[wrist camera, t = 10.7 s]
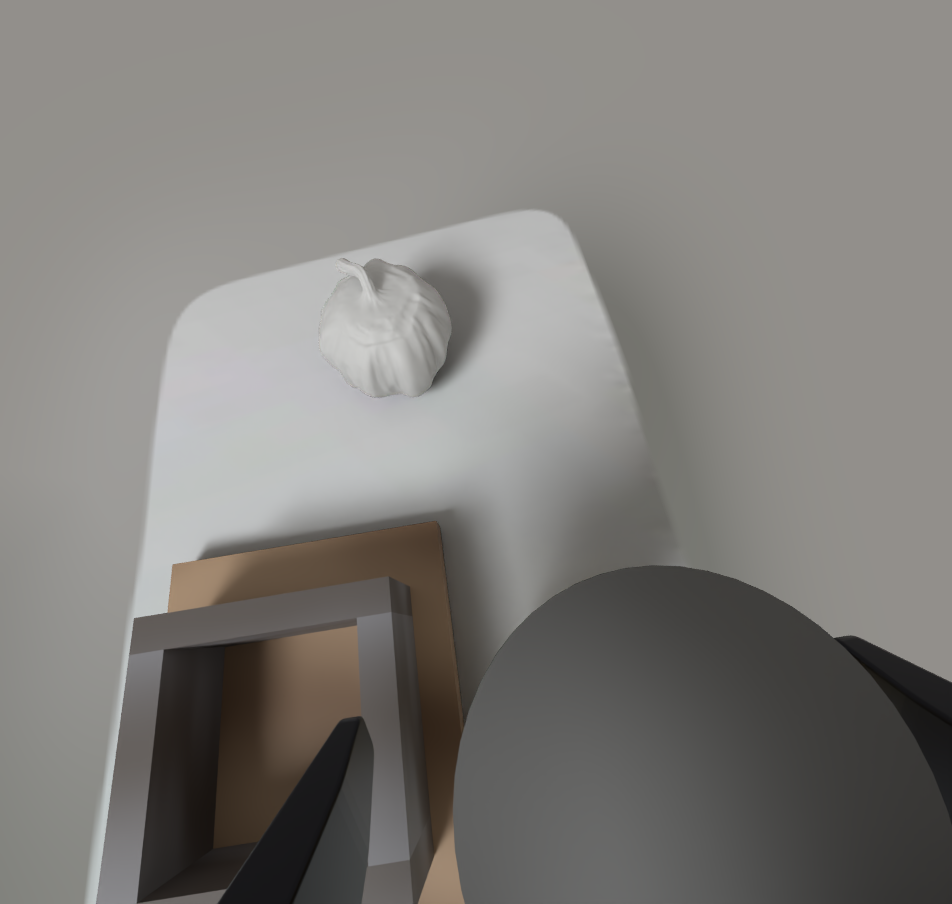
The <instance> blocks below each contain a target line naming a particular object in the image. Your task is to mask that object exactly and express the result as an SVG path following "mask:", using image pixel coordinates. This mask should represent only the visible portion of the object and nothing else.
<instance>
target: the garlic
mask: <svg viewBox="0 0 952 904" xmlns="http://www.w3.org/2000/svg"><path fill="white" fill-rule="evenodd" d="M336 268H337V270H338V271H339V272H341V273H345V274H347V275H348V276H347V277H346V278H343V279H341V280H340V281H339V282H338V283H337V285H336V288H335V289H334V291H333V293H332V294H331V296H330V297H329V298H328V300H327V301H326V303H325V305H324V307H323V309H322V311H321V321H320V325H319V349H320V352H321V354H322V356H323V357H324V358H325V360H326V361H327V362H328V363H329V364H330V365H331V366H332V367H334V368H335V369H337V370H338V371H339V372H340V373H341V375H342V377H343V378H344V380H345V381H346V382H347V383H348V384H349V385H350V386H352V387H354V388H358V389H359V390H360V391H362V392H363V393H364V394H366V395H368V396H370V397H375V398H381V397H386V396H389V395H395V394H404V395H407V396H409V397H418V396H420V395H422V394H423V393H424V392H426V391H427V390H428V389H429V388H430V387H431V385H432V381H433V378H434V376H435V375H436V374H437V372H438V370H439V369H440V368H441V367H442V366H443V364H444V362H445V360H446V356H447V346H448V341H449V339H450V336H451V332H452V325H451V320H450V316H449V314H448V310H447V307H446V304H445V302H444V301H443V299H442V298H441V296H440V294H439V293H438V291H437V290H436V289H435V288H434V287H432V286H431V285H429V284H428V283H427V282H425V281H424V280H423V279H421V278H420V277H419V276H418V275H417V274H416V273H415V272H414V271H412V270H411V269H410V268H408V267H405V266H402V265H393V264H389V263H386V262H384V261H383V260H380V259H372V260H370V261H369V262H368V263H367V264H366V265H365V266H364V267H362V266H360V265H358V264H356V263H351V262H350V261H348V260H347V259H343V258H340V259H339V260H337V262H336Z"/></svg>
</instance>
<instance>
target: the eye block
mask: <svg viewBox="0 0 952 904" xmlns="http://www.w3.org/2000/svg"><path fill="white" fill-rule="evenodd" d="M355 716H361V717H362V718H363V719H364V721H365V723H366V726H367V729H368V732H369V734H370V737H371V740H372V743H373V747H374V769H373V788H372V806H371V825H370V842H369V854H368V863H367V870H366V877H365V884H364V891H363V898H362V904H465V902H464V899H463V895H462V891H461V885H460V879H459V873H458V867H457V860H456V854H455V843H454V824H453V799H454V780H455V771H456V765H457V758H458V752H459V746H460V740H461V737H462V733H463V730H464V720H463V711H462V703H461V695H460V687H459V679H458V670H457V662H456V654H455V646H454V638H453V629H452V621H451V613H450V605H449V597H448V588H447V580H446V572H445V564H444V556H443V547H442V539H441V531H440V526H439V524H438V523H437V521H432V522H426V523H420V524H414V525H408V526H402V527H396V528H390V529H384V530H378V531H372V532H366V533H360V534H354V535H348V536H342V537H336V538H330V539H323V540H317V541H311V542H305V543H299V544H293V545H287V546H281V547H275V548H269V549H263V550H257V551H251V552H245V553H239V554H233V555H227V556H221V557H215V558H209V559H203V560H197V561H191V562H185V563H179V564H173V566H172V575H171V585H170V594H169V603H168V613H163V614H157V615H151V616H145V617H139V618H134V623H133V631H132V638H131V646H130V653H129V661H128V668H127V676H126V683H125V691H124V698H123V706H122V713H121V721H120V729H119V736H118V744H117V751H116V759H115V766H114V774H113V781H112V789H111V796H110V804H109V811H108V819H107V826H106V834H105V841H104V849H103V856H102V864H101V871H100V879H99V886H98V894H97V901H96V904H217V903H218V901H219V900H220V898H221V897H222V895H223V894H224V892H225V891H226V889H227V888H228V886H229V885H230V883H231V882H232V880H233V879H234V877H235V876H236V874H237V873H238V871H239V870H240V868H241V867H242V865H243V864H244V862H245V861H246V859H247V858H248V856H249V855H250V853H251V852H252V850H253V849H254V847H255V846H256V844H257V843H258V841H259V840H260V838H261V837H262V835H263V834H264V832H265V831H266V829H267V828H268V826H269V825H270V823H271V822H272V820H273V819H274V817H275V816H276V815H277V813H278V812H279V810H280V809H281V807H282V806H283V804H284V803H285V801H286V800H287V798H288V797H289V795H290V794H291V792H292V791H293V789H294V788H295V786H296V785H297V783H298V782H299V780H300V779H301V777H302V776H303V774H304V773H305V771H306V770H307V768H308V767H309V765H310V764H311V762H312V761H313V759H314V758H315V756H316V755H317V753H318V752H319V750H320V749H321V747H322V746H323V744H324V743H325V741H326V740H327V738H328V737H329V735H330V734H331V732H332V731H333V729H334V728H335V726H336V725H337V723H338V722H339V721H340V720H342V719H344V718H349V717H355Z"/></svg>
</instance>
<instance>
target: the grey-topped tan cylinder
mask: <svg viewBox="0 0 952 904" xmlns="http://www.w3.org/2000/svg"><path fill="white" fill-rule="evenodd" d="M453 824H454V843H455V854H456V860H457V867H458V873H459V879H460V885H461V891H462V895H463V899H464V902H465V904H952V824H951V821H950V817H949V813H948V811H947V808H946V805H945V803H944V800H943V798H942V795H941V793H940V790H939V788H938V785H937V782H936V780H935V777H934V775H933V773H932V771H931V769H930V767H929V765H928V763H927V761H926V759H925V757H924V755H923V753H922V751H921V749H920V747H919V745H918V743H917V741H916V739H915V737H914V736H913V734H912V733H911V731H910V729H909V728H908V726H907V725H906V723H905V722H904V720H903V718H902V717H901V715H900V714H899V712H898V711H897V709H896V708H895V706H894V704H893V703H892V702H891V701H890V699H889V698H888V697H887V695H886V694H885V693H884V692H883V690H882V689H881V688H880V686H879V685H878V684H877V683H876V681H875V680H874V679H873V678H872V676H871V675H870V674H869V673H868V672H867V671H866V670H865V669H864V668H863V666H862V665H861V664H860V663H859V662H858V661H857V660H856V659H855V658H854V657H853V656H852V655H851V654H850V653H849V652H848V651H847V650H846V649H845V648H844V647H843V646H842V645H841V644H840V643H839V642H837V641H836V640H835V639H834V638H833V637H832V636H830V635H829V634H828V633H827V632H826V631H825V630H823V629H822V628H821V627H820V626H819V625H817V624H816V623H815V622H813V621H812V620H810V619H809V618H807V617H806V616H805V615H803V614H802V613H800V612H799V611H797V610H796V609H795V608H793V607H792V606H790V605H788V604H786V603H785V602H783V601H781V600H779V599H777V598H776V597H774V596H772V595H770V594H768V593H767V592H765V591H763V590H760V589H758V588H756V587H753V586H751V585H748V584H746V583H744V582H741V581H739V580H737V579H733V578H730V577H727V576H723V575H720V574H716V573H712V572H709V571H704V570H698V569H692V568H686V567H680V566H643V567H632V568H625V569H620V570H616V571H612V572H608V573H603V574H600V575H597V576H595V577H592V578H590V579H587V580H584V581H582V582H579V583H577V584H575V585H573V586H571V587H570V588H568V589H566V590H564V591H562V592H561V593H559V594H557V595H555V596H554V597H552V598H551V599H550V600H548V601H547V602H546V603H544V604H543V605H542V606H540V607H539V608H538V609H537V610H535V611H534V612H533V613H532V614H531V615H529V616H528V617H527V618H526V619H525V620H524V621H523V623H522V624H521V625H520V626H519V627H518V628H517V629H516V630H515V631H514V632H513V633H512V634H511V635H510V637H509V638H508V639H507V641H506V642H505V643H504V645H503V646H502V647H501V649H500V650H499V651H498V653H497V654H496V656H495V657H494V659H493V661H492V663H491V664H490V666H489V668H488V670H487V671H486V673H485V675H484V677H483V678H482V680H481V682H480V685H479V687H478V690H477V692H476V694H475V697H474V699H473V702H472V704H471V706H470V709H469V712H468V716H467V719H466V723H465V726H464V730H463V733H462V737H461V740H460V746H459V752H458V758H457V765H456V771H455V780H454V799H453Z"/></svg>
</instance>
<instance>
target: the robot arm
mask: <svg viewBox="0 0 952 904" xmlns="http://www.w3.org/2000/svg"><path fill="white" fill-rule="evenodd" d="M834 639H835V640H836V641H837V642H839V643H840V644H841V645H842V646H843V647H844V648H845V649H846V650H847V651H848V652H849V653H850V654H851V655H852V656H853V657H854V658H855V659H856V660H857V661H858V662H859V663H860V664H861V665H862V666H863V668H864V669H865V670H866V671H867V672H868V673H869V674H870V675H871V676H872V678H873V679H874V680H875V681H876V683H877V684H878V685H879V686H880V688H881V689H882V690H883V692H884V693H885V694H886V695H887V697H888V698H889V699H890V701H891V702H892V703H893V704H894V706H895V708H896V709H897V711H898V712H899V714H900V715H901V717H902V718H903V720H904V722H905V723H906V725H907V726H908V728H909V729H910V731H911V733H912V734H913V736H914V737H915V739H916V741H917V743H918V745H919V747H920V749H921V751H922V753H923V755H924V757H925V759H926V761H927V763H928V765H929V767H930V769H931V771H932V773H933V775H934V777H935V780H936V782H937V785H938V788H939V790H940V793H941V795H942V798H943V800H944V803H945V805H946V808H947V811H948V813H949V817H950V821H951V824H952V682H950V681H948V680H946V679H943V678H942V677H939V676H937V675H935V674H933V673H931V672H929V671H927V670H925V669H923V668H921V667H919V666H917V665H914V664H913V663H911V662H908V661H906V660H904V659H902V658H900V657H898V656H896V655H894V654H892V653H890V652H888V651H886V650H884V649H882V648H880V647H878V646H875V645H873V644H871V643H869V642H867V641H865V640H863V639H861V638H859V637H856V636H843V637H837V638H834ZM373 769H374V747H373V743H372V740H371V737H370V734H369V732H368V729H367V726H366V723H365V721H364V719H363V718H362V717H361V716H355V717H349V718H344V719H342V720H340V721H339V722H338V723H337V725H336V726H335V728H334V729H333V731H332V732H331V734H330V735H329V737H328V738H327V740H326V741H325V743H324V744H323V746H322V747H321V749H320V750H319V752H318V753H317V755H316V756H315V758H314V759H313V761H312V762H311V764H310V765H309V767H308V768H307V770H306V771H305V773H304V774H303V776H302V777H301V779H300V780H299V782H298V783H297V785H296V786H295V788H294V789H293V791H292V792H291V794H290V795H289V797H288V798H287V800H286V801H285V803H284V804H283V806H282V807H281V809H280V810H279V812H278V813H277V815H276V816H275V817H274V819H273V820H272V822H271V823H270V825H269V826H268V828H267V829H266V831H265V832H264V834H263V835H262V837H261V838H260V840H259V841H258V843H257V844H256V846H255V847H254V849H253V850H252V852H251V853H250V855H249V856H248V858H247V859H246V861H245V862H244V864H243V865H242V867H241V868H240V870H239V871H238V873H237V874H236V876H235V877H234V879H233V880H232V882H231V883H230V885H229V886H228V888H227V889H226V891H225V892H224V894H223V895H222V897H221V898H220V900H219V901H218V903H217V904H362V898H363V891H364V884H365V877H366V870H367V863H368V854H369V842H370V825H371V806H372V788H373Z"/></svg>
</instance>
